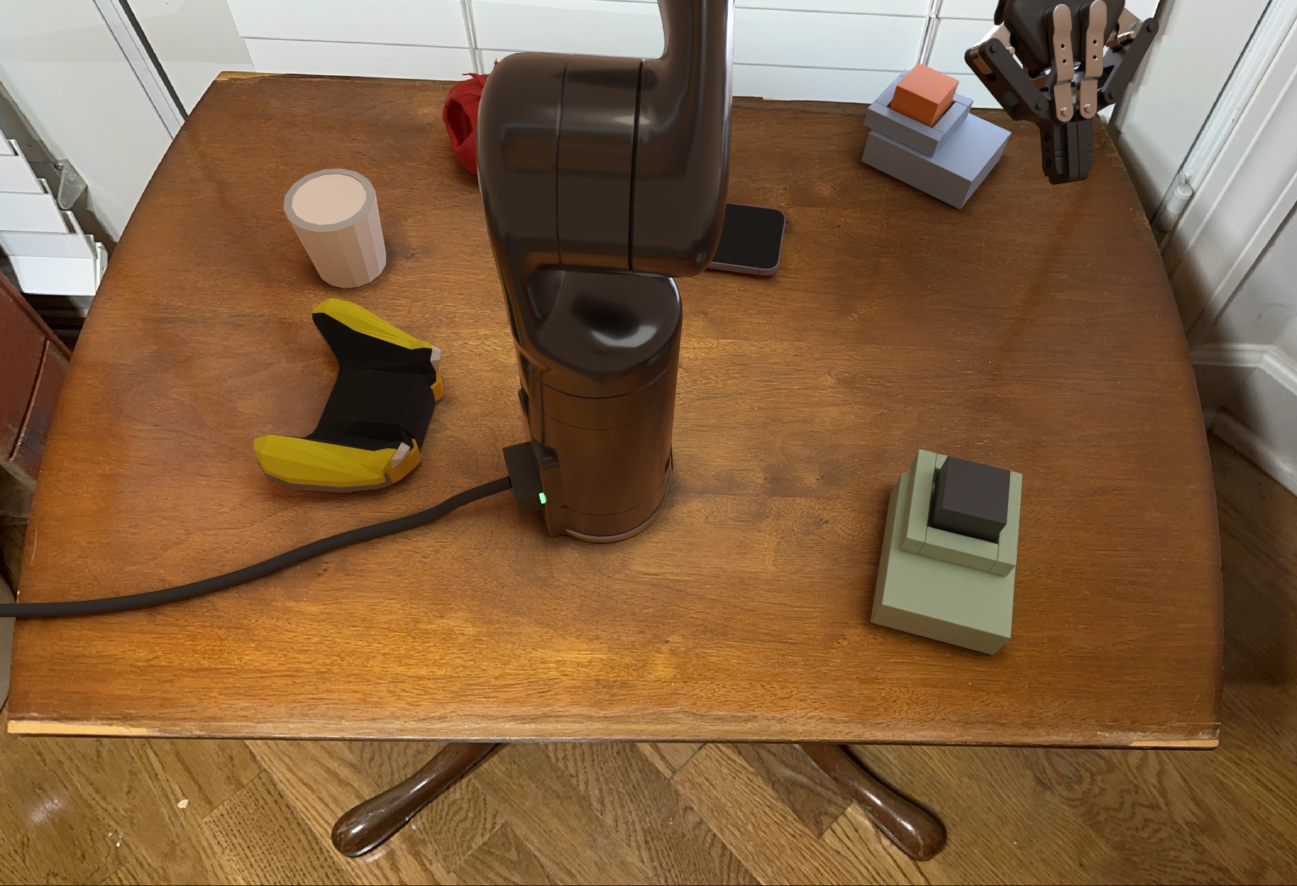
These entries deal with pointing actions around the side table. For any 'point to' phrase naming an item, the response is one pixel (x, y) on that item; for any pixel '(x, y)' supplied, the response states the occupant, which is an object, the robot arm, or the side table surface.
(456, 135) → the pomegranate
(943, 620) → the green stepped block
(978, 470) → the charcoal key
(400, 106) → the side table surface
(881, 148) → the blue-grey socket block
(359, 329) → the gaming controller
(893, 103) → the orange key
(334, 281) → the pale pink cylinder
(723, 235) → the smartphone
